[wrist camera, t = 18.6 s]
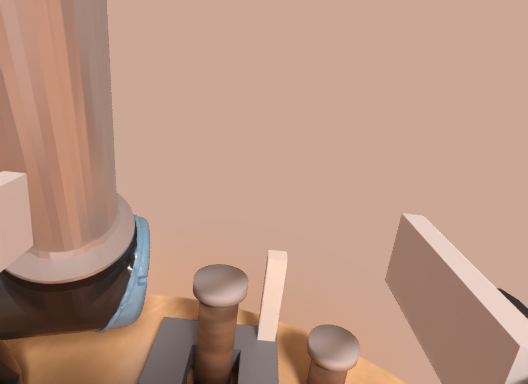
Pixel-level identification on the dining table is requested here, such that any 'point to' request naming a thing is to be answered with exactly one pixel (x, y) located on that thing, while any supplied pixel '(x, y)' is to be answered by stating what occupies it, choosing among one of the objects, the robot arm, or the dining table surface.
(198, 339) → the long pin
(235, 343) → the hole block
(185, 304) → the dining table surface
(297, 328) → the dining table surface
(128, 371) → the dining table surface
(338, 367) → the short pin
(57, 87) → the robot arm
